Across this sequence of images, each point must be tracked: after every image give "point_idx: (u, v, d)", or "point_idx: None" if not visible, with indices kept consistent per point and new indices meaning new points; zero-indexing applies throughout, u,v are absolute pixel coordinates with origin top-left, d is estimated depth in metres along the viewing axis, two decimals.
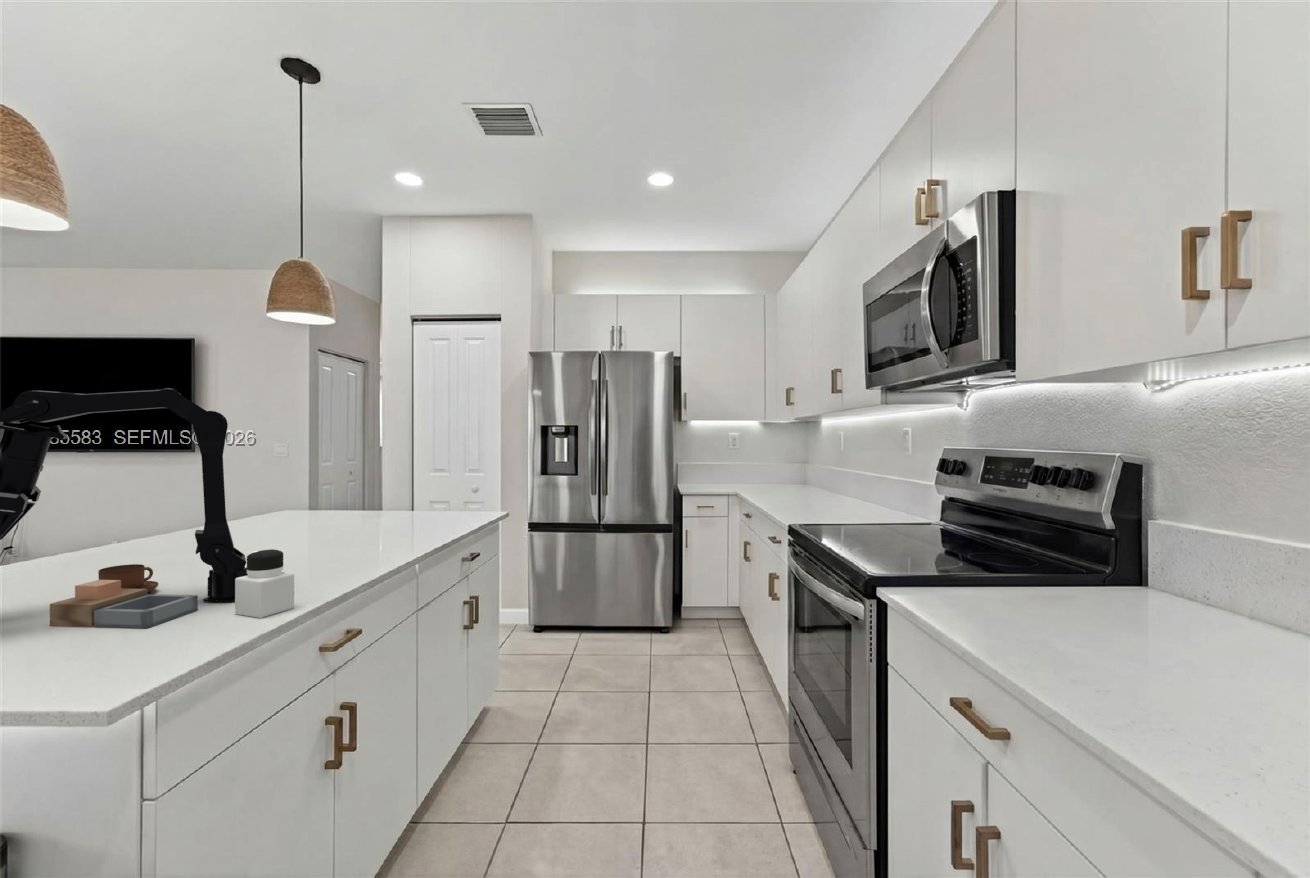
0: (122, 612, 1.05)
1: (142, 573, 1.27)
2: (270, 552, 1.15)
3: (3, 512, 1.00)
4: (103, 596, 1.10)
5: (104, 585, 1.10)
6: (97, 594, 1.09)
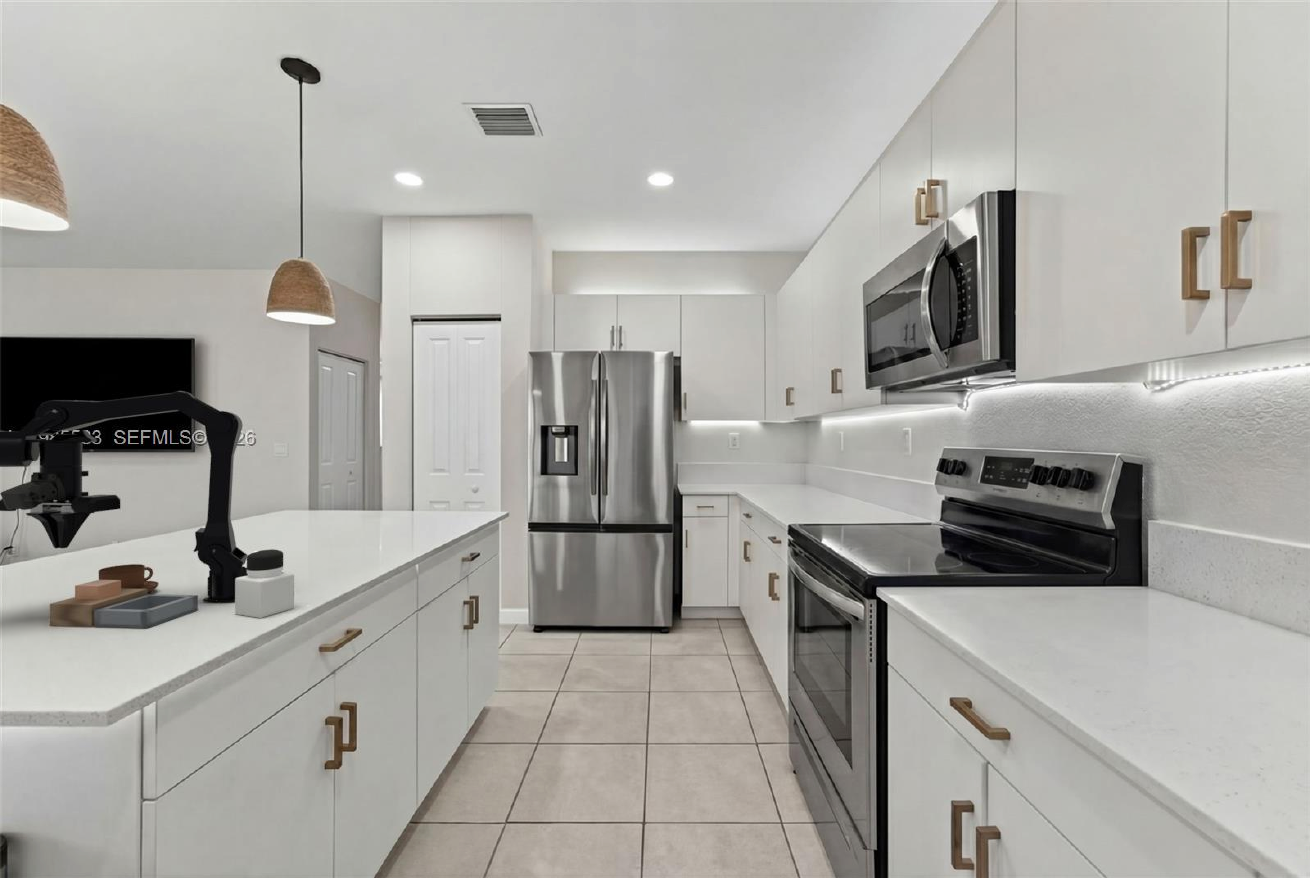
0: (122, 612, 1.05)
1: (142, 573, 1.27)
2: (270, 552, 1.15)
3: (86, 512, 1.12)
4: (103, 596, 1.10)
5: (104, 585, 1.10)
6: (97, 594, 1.09)
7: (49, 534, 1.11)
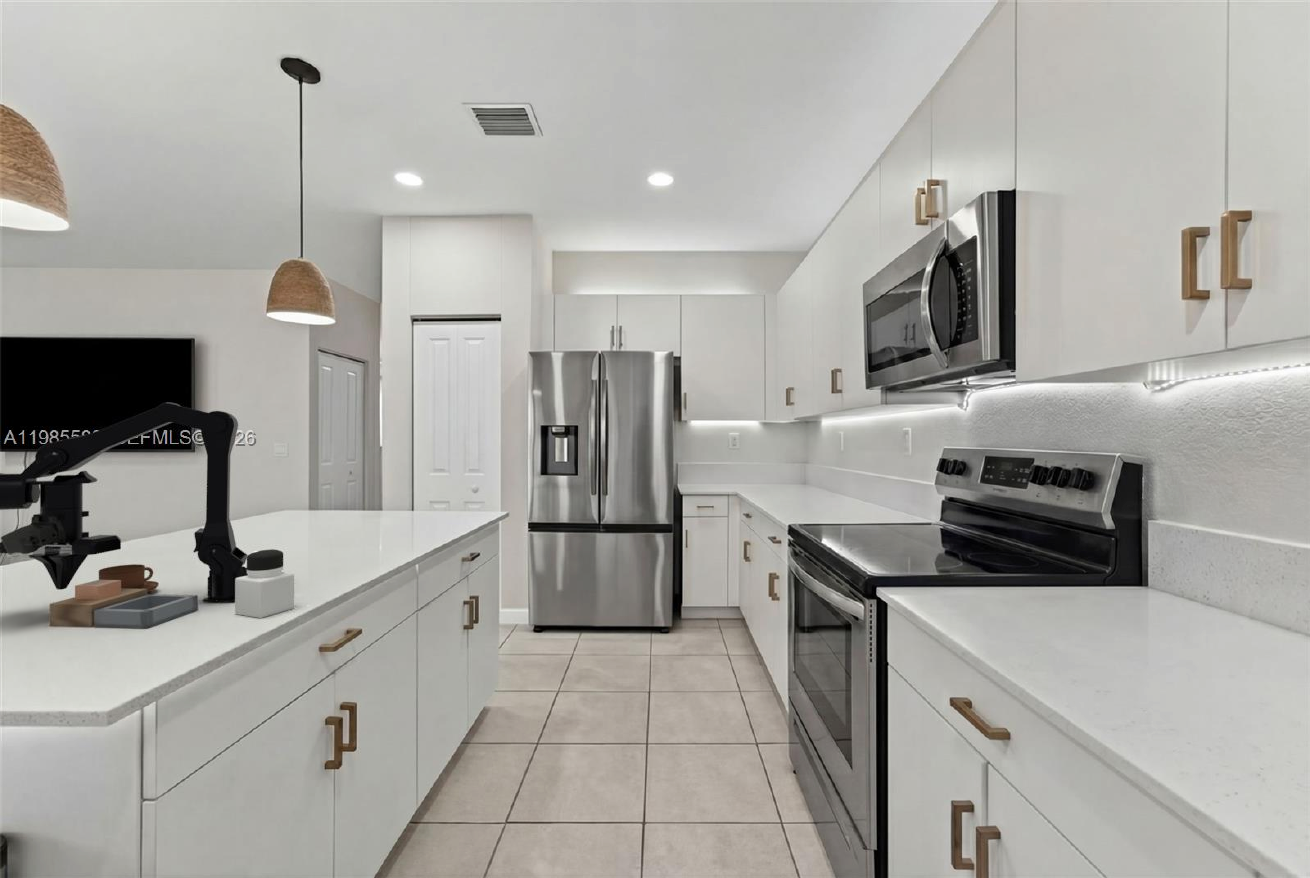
0: (122, 612, 1.05)
1: (142, 573, 1.27)
2: (270, 552, 1.15)
3: None
4: (103, 596, 1.10)
5: (104, 585, 1.10)
6: (97, 594, 1.09)
7: (51, 575, 1.11)
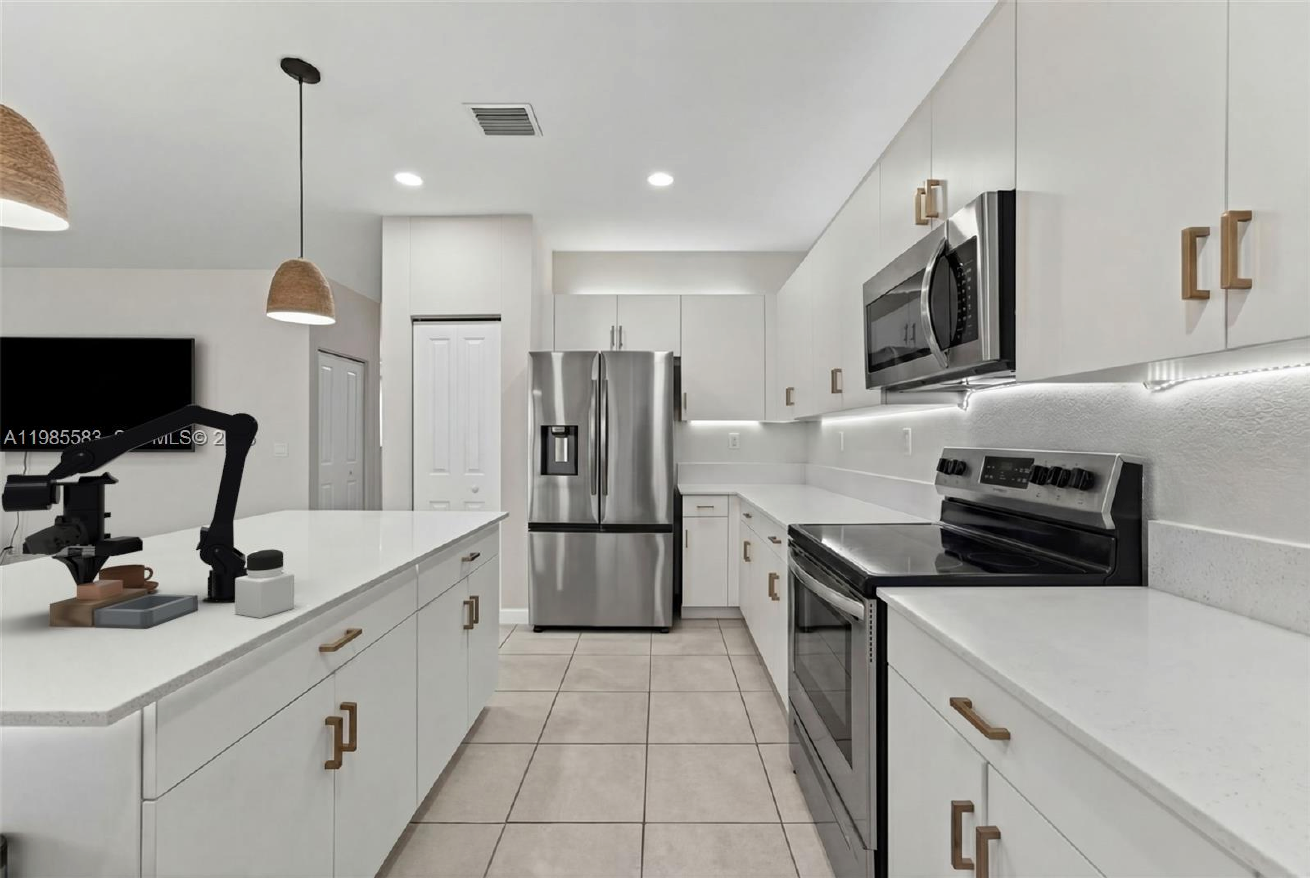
0: (122, 612, 1.05)
1: (142, 573, 1.27)
2: (270, 552, 1.15)
3: None
4: (105, 596, 1.10)
5: (106, 585, 1.10)
6: (99, 594, 1.09)
7: (74, 577, 1.11)
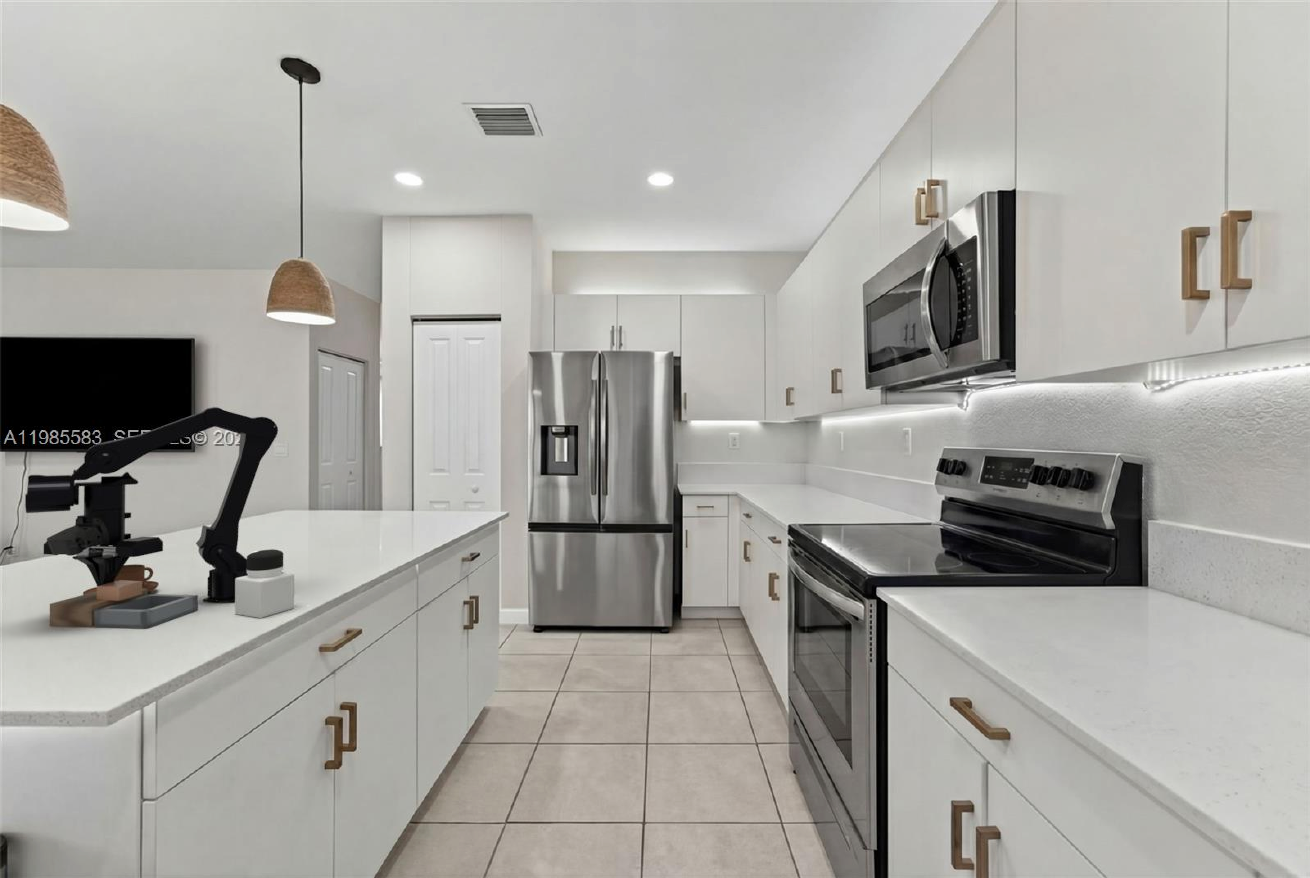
0: (122, 612, 1.05)
1: (142, 573, 1.27)
2: (270, 552, 1.15)
3: None
4: (124, 597, 1.10)
5: (125, 586, 1.10)
6: (119, 595, 1.09)
7: (95, 577, 1.10)
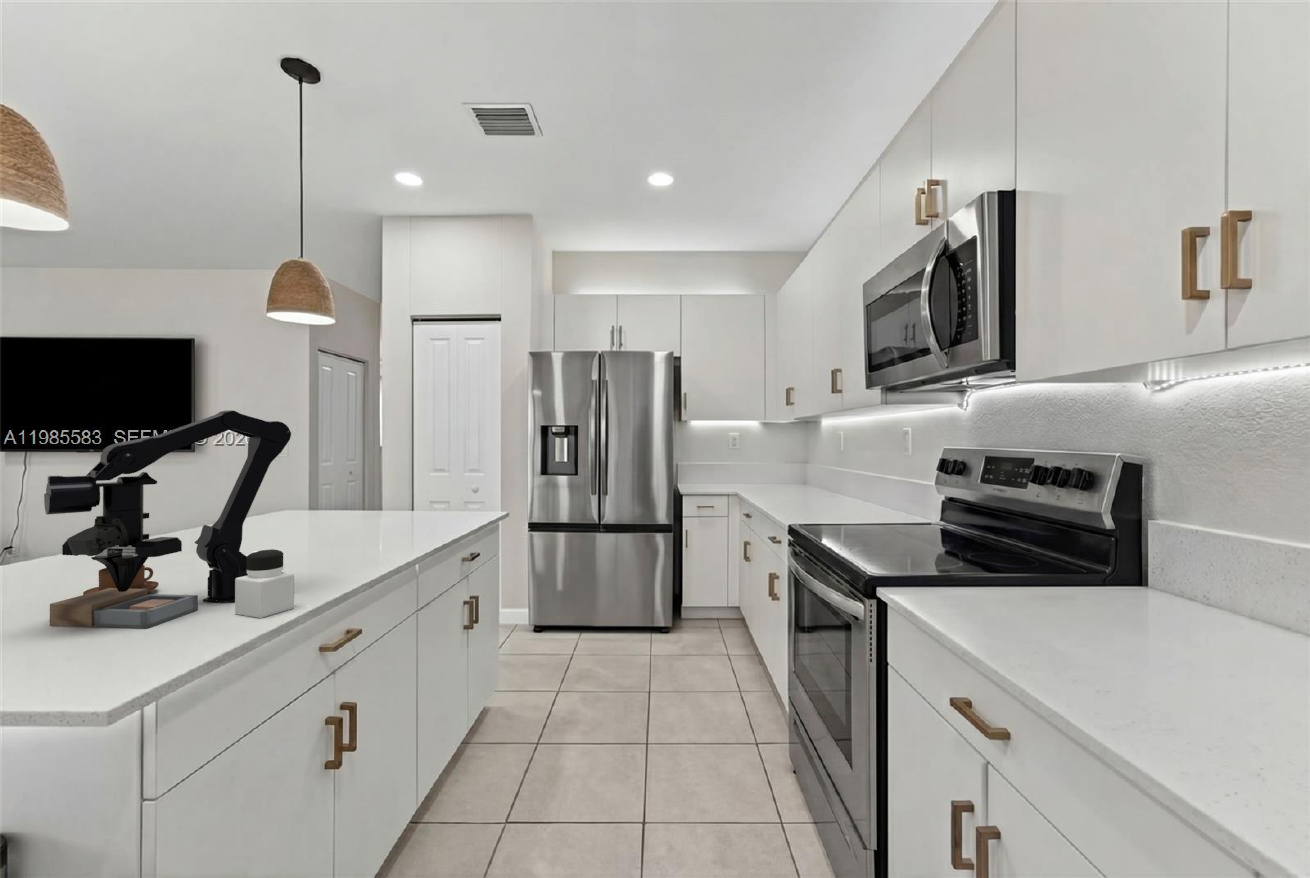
0: (122, 612, 1.05)
1: (142, 573, 1.27)
2: (270, 552, 1.15)
3: None
4: None
5: None
6: None
7: (113, 578, 1.10)
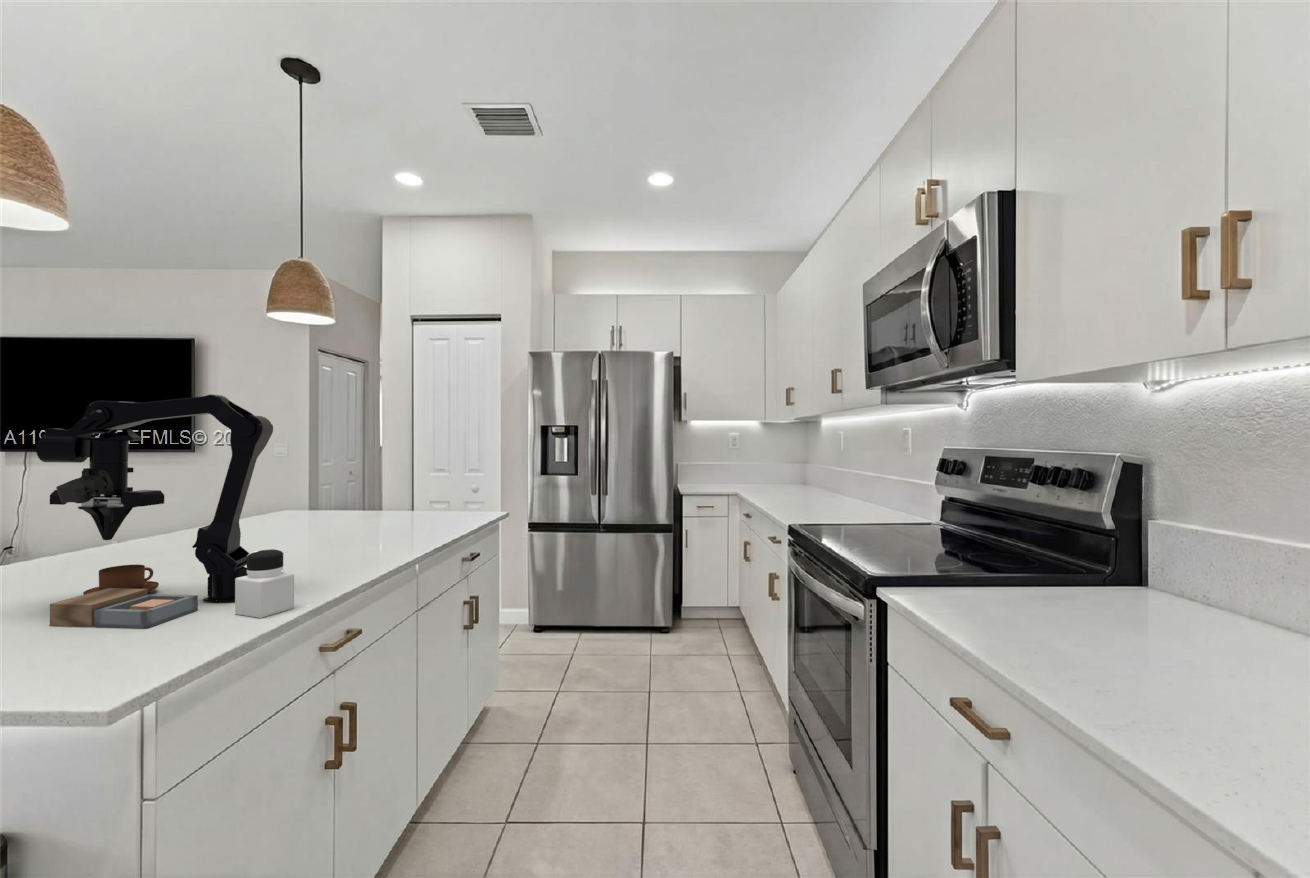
0: (122, 612, 1.05)
1: (142, 573, 1.27)
2: (270, 552, 1.15)
3: (130, 506, 1.19)
4: None
5: None
6: None
7: (98, 527, 1.18)
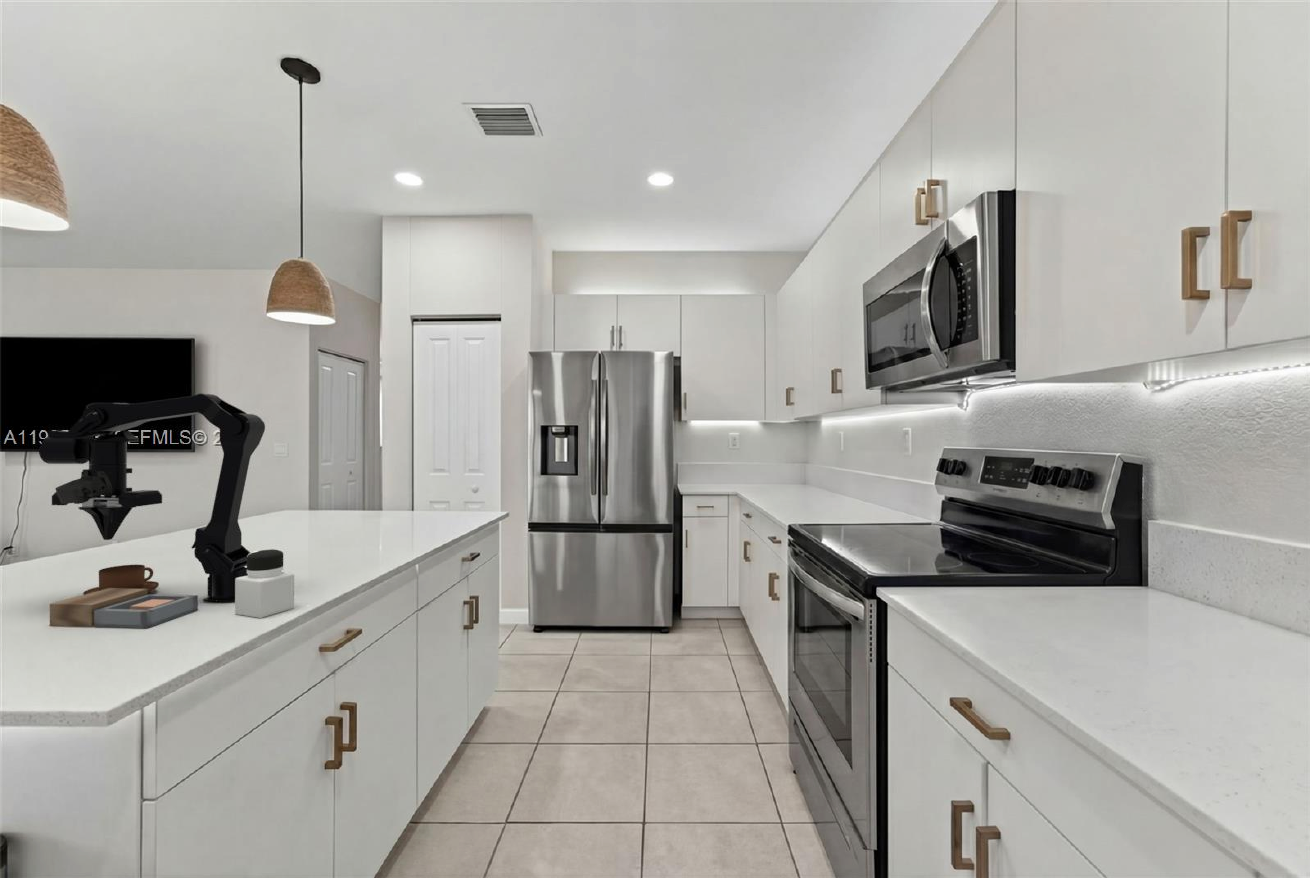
0: (122, 612, 1.05)
1: (142, 573, 1.27)
2: (270, 552, 1.15)
3: (129, 506, 1.21)
4: None
5: None
6: None
7: (99, 527, 1.20)
